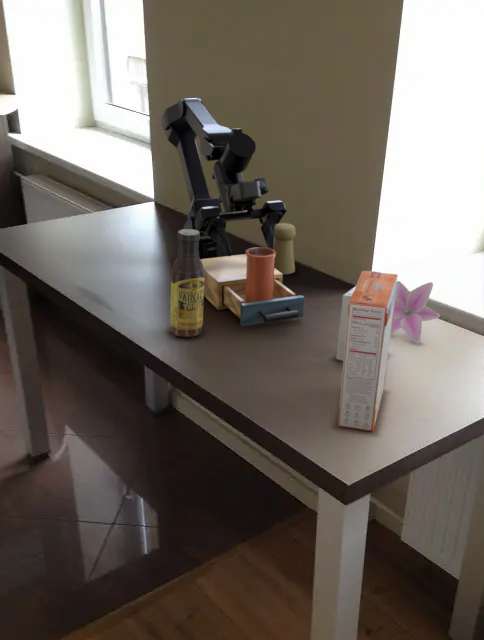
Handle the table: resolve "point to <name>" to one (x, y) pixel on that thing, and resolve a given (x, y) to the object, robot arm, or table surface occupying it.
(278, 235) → the cork
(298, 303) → the drawer
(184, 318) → the sauce bottle
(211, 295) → the cabinet
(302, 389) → the table surface
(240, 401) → the table surface
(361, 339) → the cracker box
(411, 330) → the lily
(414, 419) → the table surface
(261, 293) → the cup
